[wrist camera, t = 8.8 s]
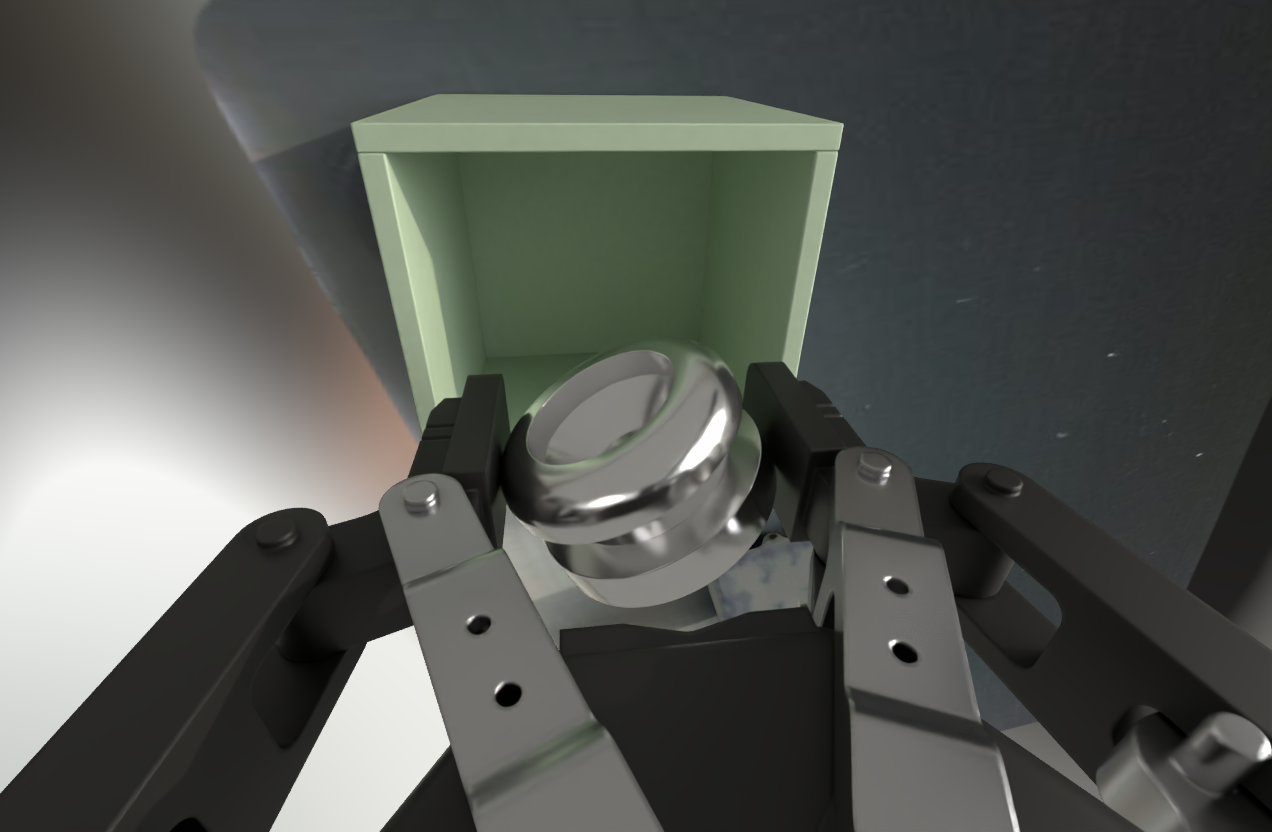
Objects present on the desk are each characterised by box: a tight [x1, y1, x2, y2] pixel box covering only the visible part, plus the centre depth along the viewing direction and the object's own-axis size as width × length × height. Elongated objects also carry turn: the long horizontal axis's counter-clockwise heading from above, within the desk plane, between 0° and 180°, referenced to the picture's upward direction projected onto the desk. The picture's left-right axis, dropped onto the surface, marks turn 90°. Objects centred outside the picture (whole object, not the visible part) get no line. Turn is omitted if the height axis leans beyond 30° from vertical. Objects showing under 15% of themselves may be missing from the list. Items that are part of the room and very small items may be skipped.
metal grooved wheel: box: [500, 336, 777, 608], centre depth 11 cm, size 5×3×5 cm, turn 117°
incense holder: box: [708, 533, 813, 622], centre depth 34 cm, size 10×8×10 cm
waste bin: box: [351, 94, 843, 508], centre depth 20 cm, size 11×11×11 cm
